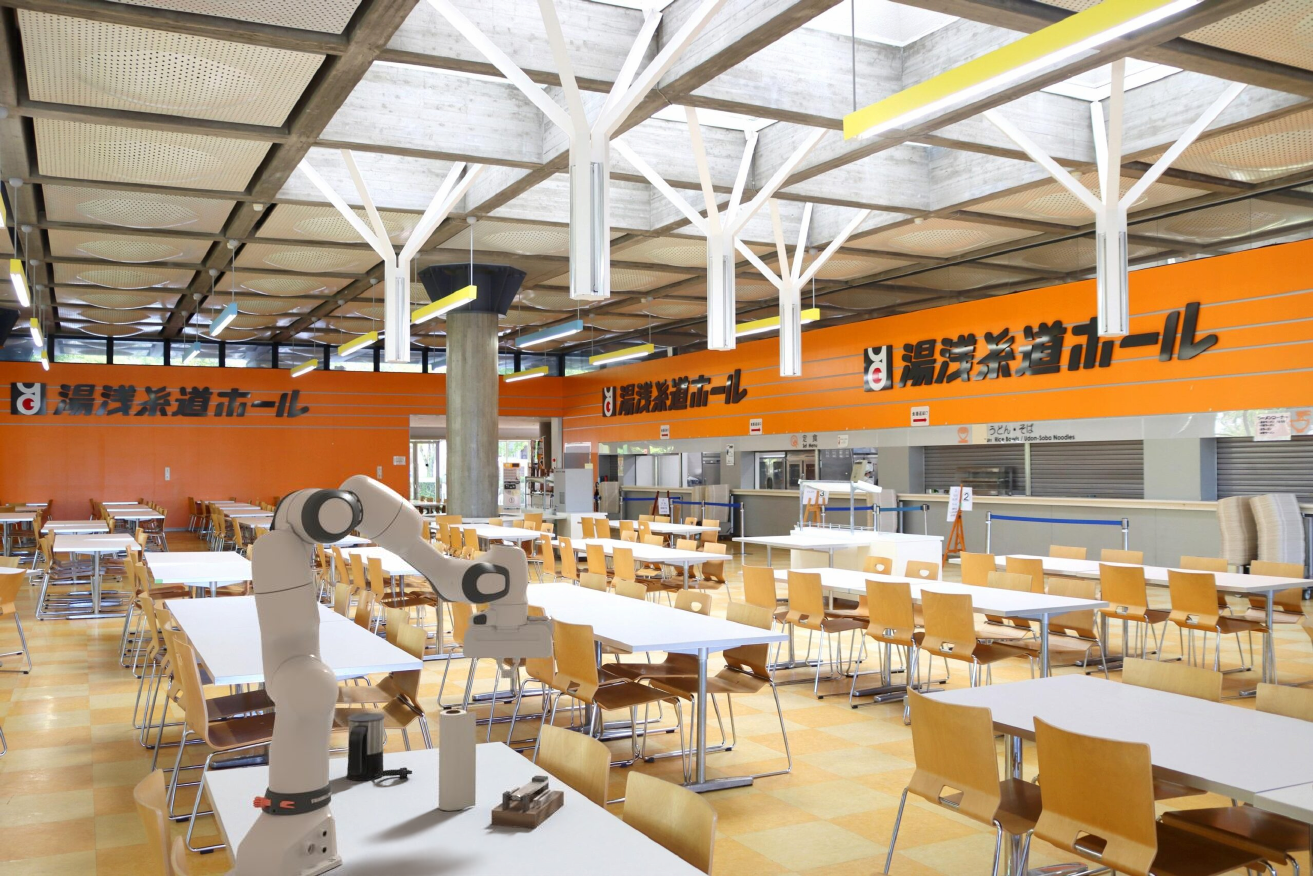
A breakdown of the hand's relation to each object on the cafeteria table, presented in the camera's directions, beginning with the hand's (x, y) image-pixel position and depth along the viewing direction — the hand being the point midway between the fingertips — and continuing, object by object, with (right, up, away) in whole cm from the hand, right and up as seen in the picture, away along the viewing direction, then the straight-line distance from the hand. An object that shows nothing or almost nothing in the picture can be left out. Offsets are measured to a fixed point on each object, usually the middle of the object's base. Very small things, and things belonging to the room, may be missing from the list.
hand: (508, 677), depth 229 cm
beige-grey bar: (+5, -24, -5) cm, 25 cm away
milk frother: (-36, -31, +24) cm, 53 cm away
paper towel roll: (-12, -29, 0) cm, 32 cm away
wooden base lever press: (+5, -29, -5) cm, 30 cm away
